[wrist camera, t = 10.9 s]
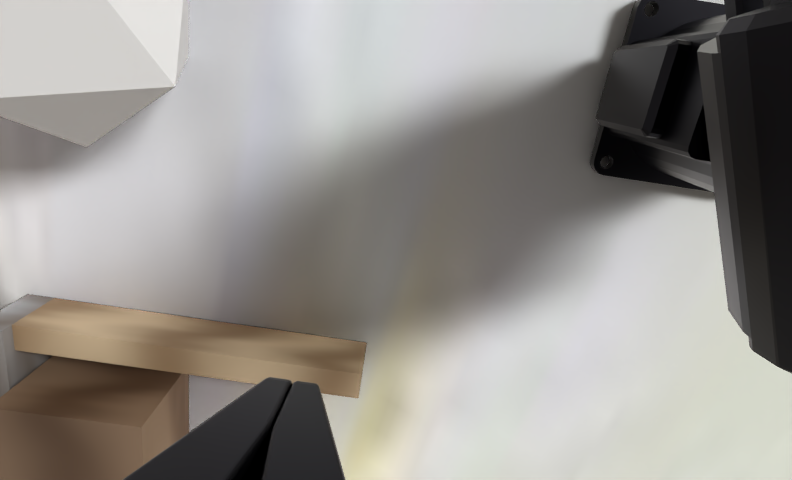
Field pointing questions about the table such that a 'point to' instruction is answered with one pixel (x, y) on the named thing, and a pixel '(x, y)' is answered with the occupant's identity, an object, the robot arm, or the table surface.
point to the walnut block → (89, 420)
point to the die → (88, 62)
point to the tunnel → (170, 345)
